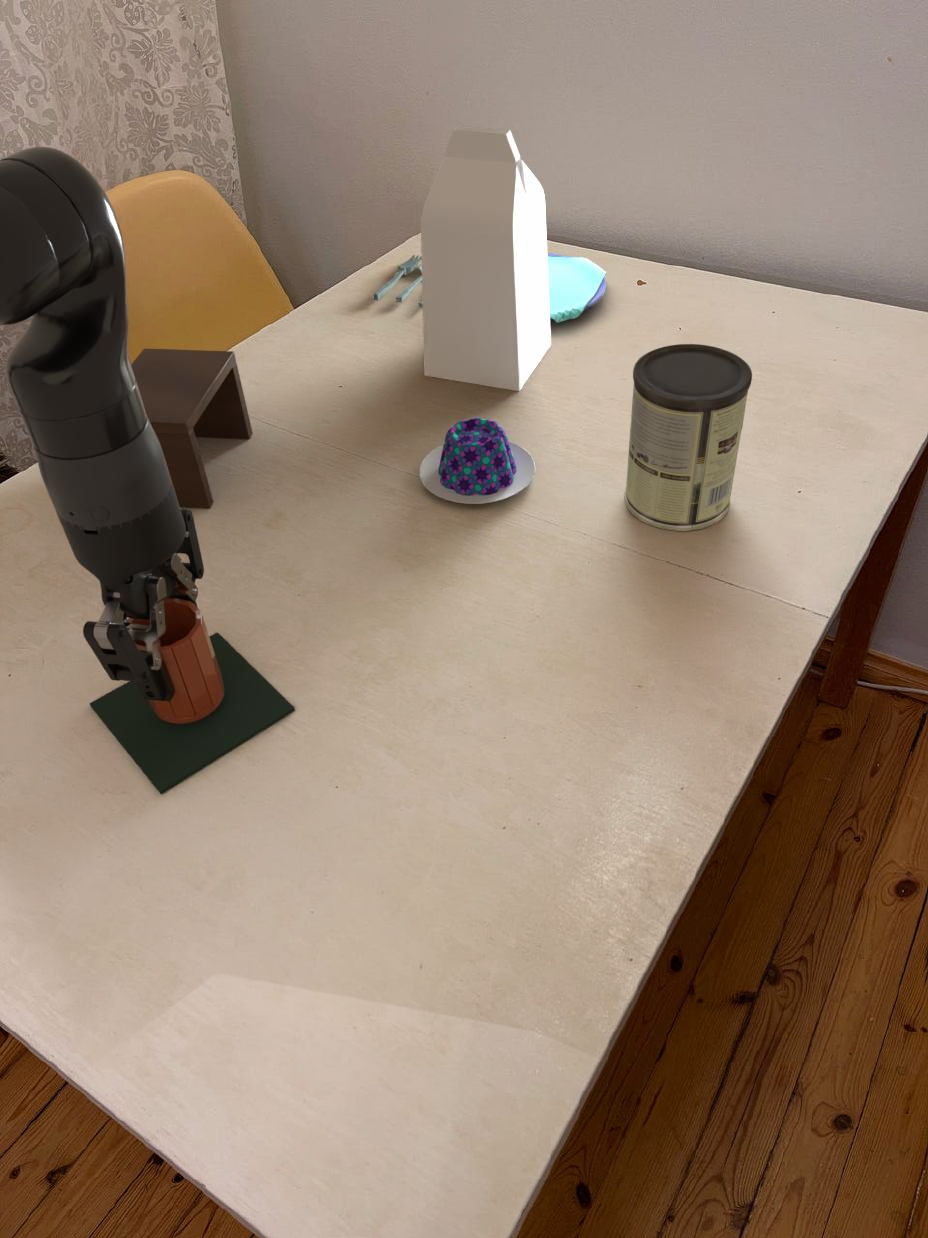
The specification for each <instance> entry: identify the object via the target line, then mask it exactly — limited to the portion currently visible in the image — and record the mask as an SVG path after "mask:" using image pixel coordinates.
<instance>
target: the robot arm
mask: <svg viewBox="0 0 928 1238" xmlns="http://www.w3.org/2000/svg"><path fill="white" fill-rule="evenodd" d="M124 247H125V246H124V240H123V235H122V230H121V227H120V224H119V221H118V218H117V215H116V212H115V209H114V208H113V205H112V203H111V201H110V198H109V197H108V194H106V192H105V190H104V188H103V187H102V185H101V184H100V182H99V181H98V180H97V179H96V178H95V176H94V175H93V174H92V172H91V171H89V169H88V168H86V167H85V166H84V164H82V163H81V162H80V161H79V160H78V159H76V158H74V157H73V156H71V155H70V154H68V153H66V152H64V151H62V150H60V149H57V148H54V147H49V146H33V147H28V148H23V149H21V150H18V151H16V152H14V153H11V154H9V155H8V156H5V157H3V158H1V159H0V326H10V325H16V324H19V323H22V322H24V321H27V320H28V319H30V318H31V319H30V321H29V324H28V326H27V328H26V329H25V332H24V333H23V334H22V335H21V337H20V338H19V339H18V341H16V343H15V345H14V346H13V347H12V348H11V350H10V352H9V353H8V356H7V358H6V361H5V366H4V372H5V378H6V382H7V385H8V387H9V390H10V392H11V395H12V398H13V401H14V403H15V406H16V408H17V411H18V414H19V415H20V418H21V420H22V422H23V426H24V428H25V430H26V432H27V435H28V438H29V440H30V442H31V444H32V447H33V450H34V453H35V457H36V460H37V465H38V469H39V473H40V476H41V480H42V481H43V484H44V486H45V489H46V491H47V494H48V496H49V498H50V501H51V503H52V505H53V508H54V510H55V513H56V516H57V518H58V519H59V523H60V525H61V527H62V529H63V532H64V534H65V537H66V539H67V541H68V544H69V546H70V549H71V551H72V553H73V556H74V558H75V560H76V561H77V563H78V564H79V565H80V566H81V567H83V568H84V569H85V570H86V571H88V572H89V573H91V575H93V576H94V577H95V578H96V579H97V580H98V582H99V585H100V592H101V600H102V603H103V606H104V608H103V611H102V613H101V615H100V617H99V619H98V621H94V620H93V621H91V620H88V621H86V622H85V623H84V625H83V628H82V634H83V635H82V636H83V638H84V639H85V640H86V643H87V644H88V645H89V647H90V649H91V650H92V652H93V654H94V655H95V657H96V659H97V661H99V663H100V665H101V666H102V669H104V671H105V673H106V675H107V676H108V677H109V679H110V680H111V681H117V682H119V681H122V682H123V681H124V682H129V681H134V682H137V684H138V687H139V689H140V691H141V694H142V697H143V698H144V699H146V700H156V701H171V700H172V698H173V696H174V694H175V690H174V687H173V684H172V682H171V679H170V676H169V674H168V671H167V668H166V666H165V663H164V661H162V656H161V644H160V638H161V637H162V636H164V635H165V633H166V624H165V611H164V604H165V601H166V600H167V599H169V598H173V599H174V598H177V599H182V600H187V601H190V602H192V603H193V604H194V605H195V606H196V607H197V608H198V609H199V607H198V604H197V599H198V595H199V589H198V588H199V587H198V585H196V581H197V580H202V579H203V578H204V575H205V566H204V561H203V557H202V556H203V555H202V551H201V547H200V543H199V537H198V533H197V529H196V524H195V518H194V514H193V510H191V508H181V507H180V506H179V503H178V500H177V496H176V493H175V490H174V486H173V483H172V480H171V477H170V473H169V470H168V467H167V464H166V460H165V457H164V454H163V451H162V448H161V445H160V442H159V440H158V438H157V436H156V434H155V432H154V430H153V428H152V426H151V424H150V421H149V419H148V416H147V414H146V411H145V407H144V404H143V401H142V398H141V395H140V391H139V388H138V385H137V382H136V379H135V375H134V372H133V369H132V366H131V364H132V363H131V360H130V357H129V310H128V309H129V308H128V288H127V287H128V286H127V285H128V284H127V268H126V257H125V248H124ZM179 554H181V555H186V556H187V557H188V562H184V561H182V558H181V557H180V556H179ZM129 618H131V619H142V620H149V619H150V623H151V625H139V624H132V623H130V622H129V621H128V619H129ZM135 640H143V641H144V642H145V643H146V647H147V652H140V651H139V649H138V647H137V646H136V644H135Z"/></svg>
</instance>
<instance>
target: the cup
mask: <svg viewBox="0 0 928 1238" xmlns="http://www.w3.org/2000/svg"><path fill="white" fill-rule="evenodd" d="M197 607H198V606H197ZM197 607H196V606H195V605H194V604H193V603H192V602H190V601H187V600H182V599H177V598H174V599H173V598H169V599H167V600H166V601H165V604H164V611H165V624H166V633H165V635H164V636H162V637H161V638H160V644H161V656H162V661H164V663H165V666H166V668H167V671H168V674H169V676H170V679H171V682H172V684H173V687H174V690H175V694H174V696H173V698H172V700H171V701H156V700H148V701H149V703H150V705H151V707H152V708H153V710H154V712H155V714H156V715H157V716H158V717H159V718H161V719H162V720H164V721H166V722H170V723H176V724H184V723H190V722H194V721H197V720H200V719H202V718H204V717H206V716H207V715H209V714H210V713H212V712H213V711H214V710H215V709H216V708H217V707H218V706H219V704H220V703H221V701H222V699H223V696H224V685H223V678H222V675H221V672H220V669H219V666H218V663H217V659H216V656H215V653H214V650H213V647H212V644H211V641H210V635H209V631H208V629H207V625H206V622H205V619H204V615H203V612H202V610H201V609H199V607H198V608H197ZM127 620H128V621H129V622H130V623H132V624H139V625H151V623H150V619H149V620H142V619H131V618H127ZM135 644H136V646H137V647H138V649H139V651H140V652H147V647H146V643H145V642H144V641H143V640H135Z"/></svg>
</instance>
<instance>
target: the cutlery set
mask: <svg viewBox="0 0 928 1238" xmlns="http://www.w3.org/2000/svg"><path fill="white" fill-rule="evenodd" d="M547 259H548V283H549V307H550V320H554V321H555V322H556V323H561V322H564V321H569V320H575V319H576V318H579V317H580V316H581V314H582V313H583V311H584V310H587V309H588V308H590V307H593V306H594V305H595V304H596V303H597V302H598V301H599V300H601V298H602V297H604V295H605V292H606V287H607V284H608V281H607V280H606V277H605V276H607V273H608V272H606V271H605V270H604V269H603V268H601V267H600V266H599V265H598V264H596V263H595V262H593V261H592V260H590V259H588V258H586V257H581V256H580V257H579V256H578V257H576V256H575V257H573V256H568V255H563V254H558V253H552V252H551V253H550V252H547ZM420 262H421V263H420ZM419 263H420V265H419V267H418V269H419V271H420V272H421V274H422V260H421V256H420V255H415V254H413V255H412V256H411V257H410V258H408V259H407V260H406V261H405V262H403V263H402V264H400V265H399V264H398V265H397V269H398V270H397V272H396V273H395V274H394V275H393V276H392V278H391V279H390V280H388V281H387V282H386V283H385V284H384V285H383V286H381V287H379V289H377V291H375V292H374V293H373V295H372V297H373V301H380V300H381V298H382V297H384V295H385V294H387V292H389V291H390V290H391V289H393V287H394V286H395V285H396V284H397V282H398V281H399V280H400V278H401V277H402V276H407V275H409V274H412V272H413V271H414V269H416V267H417V266H418V264H419ZM421 282H422V275H420V276H418V277H417V278H416V279H415V280H414V281H412V282H411V283H410V284H408V286H407V287H405V289H403V290H402V291H401V292H400V293H399V294H398V295H397V296H396V297H395V301H396V303H403V302H404V301H405V299H406V298H407V297H408V296H409V294H410V293H411V292H412V291H413V290H414V289H415V288H416V286H418V285H419V284H420V283H421ZM417 305H418V308H419V309H423V299H422V300H421V301H420V302H418V304H417Z"/></svg>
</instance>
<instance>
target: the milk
mask: <svg viewBox="0 0 928 1238" xmlns="http://www.w3.org/2000/svg"><path fill="white" fill-rule="evenodd" d="M545 197H546V195H545V191H544V188H543V186H542V184H541V183H540V181H539V180H538V178H537V177H536V176H535V174H534V173H533V172H532V171H531V169H530V168H529V167H528V166H527V164H526V163H525V162H524V161H523V159H522V158H521V154H520V151H519V149H518V147H517V144H516V141H515V138H514V136H513V133H512V130H511V129H506V128H505V129H504V128H503V129H502V128H490V127H479V126H464V125H457V126H455V128H453V129H452V131H451V134H450V137H449V140H448V142H447V145H446V149H445V152H444V157H443V158H442V160H441V161H440V165H439V167H438V170H437V172H436V174H435V177H434V180H433V182H432V184H431V187H430V189H429V191H428V195H427V198H426V199H425V202H424V205H423V208H422V212H421V216H420V257H421V263H422V273H421V276H422V280H421V287H422V289H421V290H422V291H421V293H422V297H421V298H422V300H423V308H422V330H423V333H422V334H423V367H424V369H423V370H424V372H423V373H424V376H425V377H431V378H437V379H444V380H449V381H456V382H461V383H468V384H473V385H480V386H486V387H491V388H497V389H498V388H499V389H504V390H510V391H516V392H520V391H521V390H522V389H523V387H524V386H525V384H526V382H527V381H528V380H529V378H530V377H531V375H532V374H533V373H534V371H535V370H536V368H537V366H538V365H539V364H540V362H541V360H542V359H543V358H544V356H545V355H546V354H547V352H548V351H549V349H550V348H551V346H552V337H551V336H552V335H551V319H550V307H549V283H548V259H547V253H548V240H547V239H548V237H547V235H548V234H547V215H546V214H547V213H546V198H545Z"/></svg>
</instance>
